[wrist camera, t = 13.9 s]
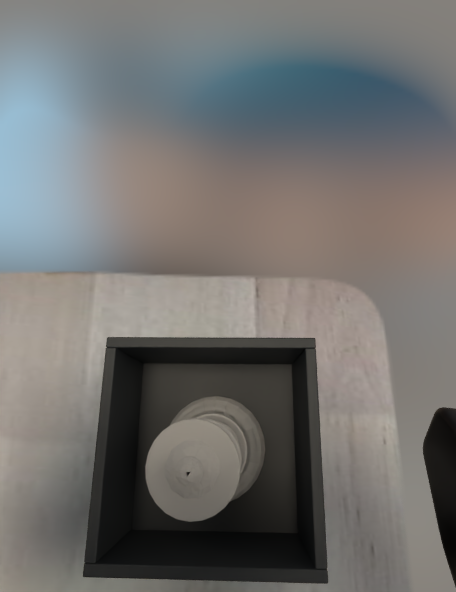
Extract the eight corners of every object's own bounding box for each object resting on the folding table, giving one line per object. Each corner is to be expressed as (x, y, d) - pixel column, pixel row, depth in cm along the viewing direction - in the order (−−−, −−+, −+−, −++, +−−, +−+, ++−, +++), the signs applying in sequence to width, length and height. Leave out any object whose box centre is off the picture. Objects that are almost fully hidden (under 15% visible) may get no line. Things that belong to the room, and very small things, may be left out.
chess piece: (265, 398, 19) (286, 376, 10) (263, 501, 18) (287, 595, 8) (172, 395, 19) (103, 369, 10) (164, 496, 18) (75, 582, 8)
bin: (305, 540, 18) (328, 584, 13) (124, 536, 18) (82, 577, 13) (298, 357, 20) (315, 337, 15) (138, 356, 20) (106, 336, 16)
